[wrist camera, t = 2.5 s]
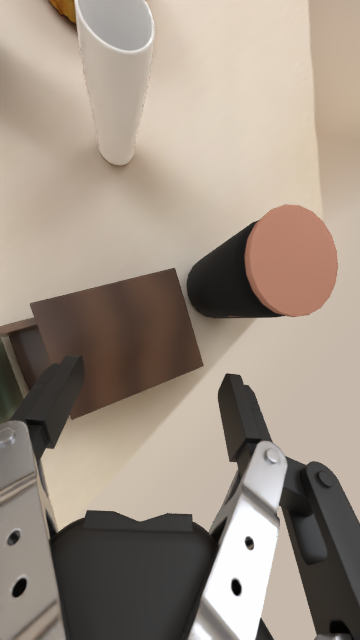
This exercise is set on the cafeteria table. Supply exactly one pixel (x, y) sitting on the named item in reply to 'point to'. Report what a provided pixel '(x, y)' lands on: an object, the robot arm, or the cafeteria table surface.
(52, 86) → the cafeteria table surface
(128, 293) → the cabinet
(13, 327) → the drawer
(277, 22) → the cafeteria table surface
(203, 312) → the coffee jar
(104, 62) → the white cup
